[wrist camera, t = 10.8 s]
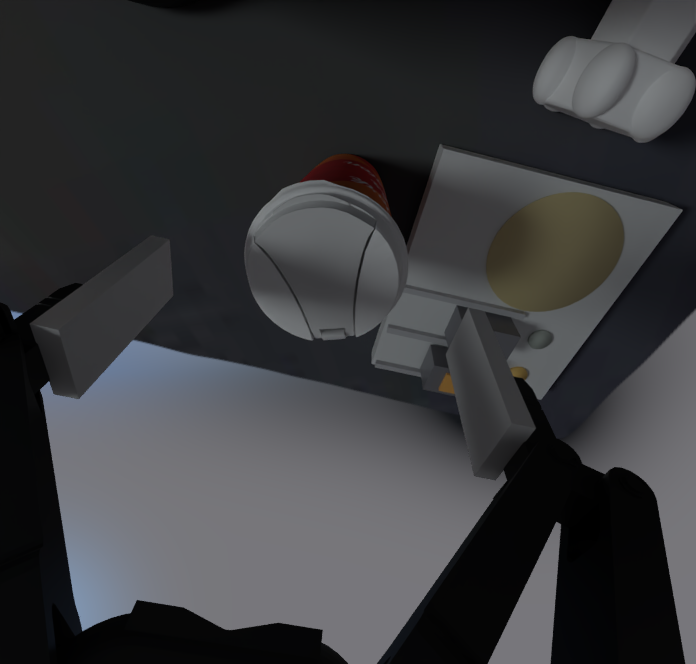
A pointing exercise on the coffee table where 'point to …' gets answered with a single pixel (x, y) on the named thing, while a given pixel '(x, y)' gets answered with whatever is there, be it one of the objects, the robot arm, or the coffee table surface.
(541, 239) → the panel
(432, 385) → the tagged breaker
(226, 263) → the coffee table surface
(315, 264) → the coffee cup
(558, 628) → the robot arm
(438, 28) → the coffee table surface
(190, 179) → the coffee table surface
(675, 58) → the bone shaped toy
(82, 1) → the coffee table surface
